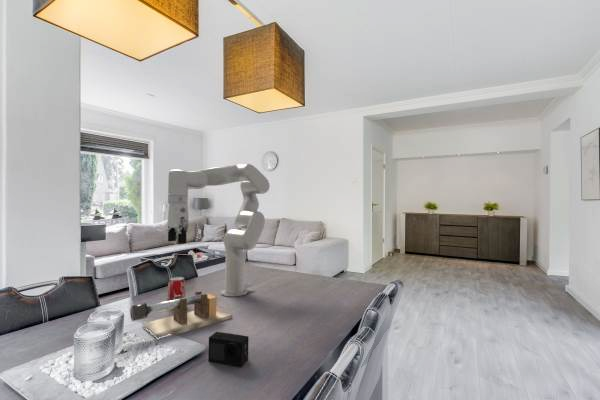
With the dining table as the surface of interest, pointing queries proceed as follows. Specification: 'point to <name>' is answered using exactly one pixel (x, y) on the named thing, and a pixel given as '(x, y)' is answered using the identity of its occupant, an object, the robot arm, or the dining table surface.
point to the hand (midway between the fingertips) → (176, 242)
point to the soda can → (176, 288)
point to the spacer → (211, 305)
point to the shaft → (159, 307)
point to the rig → (186, 318)
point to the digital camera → (228, 349)
